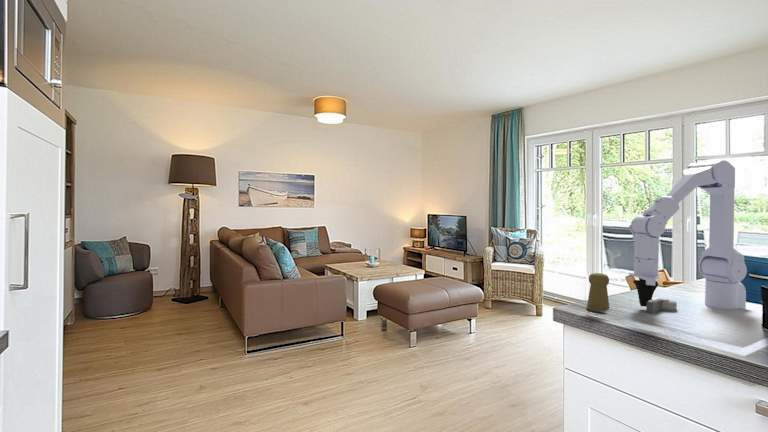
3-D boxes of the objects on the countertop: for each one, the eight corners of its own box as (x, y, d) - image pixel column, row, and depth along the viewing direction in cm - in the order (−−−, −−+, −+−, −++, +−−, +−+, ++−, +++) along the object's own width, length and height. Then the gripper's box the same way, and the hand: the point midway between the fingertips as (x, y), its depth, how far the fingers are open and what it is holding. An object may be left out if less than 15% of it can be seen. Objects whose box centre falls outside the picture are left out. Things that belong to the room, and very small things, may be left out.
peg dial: (656, 304, 116) (656, 293, 116) (680, 309, 111) (680, 297, 111) (637, 310, 110) (637, 298, 110) (662, 315, 105) (662, 302, 105)
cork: (613, 314, 110) (614, 275, 110) (590, 313, 111) (591, 275, 111) (605, 309, 116) (606, 272, 116) (583, 307, 117) (584, 271, 117)
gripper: (625, 254, 118) (624, 298, 119) (633, 260, 105) (632, 310, 106) (653, 255, 115) (652, 301, 116) (665, 262, 102) (664, 313, 103)
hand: (644, 306), depth 111 cm, fingers closed, pressing on peg dial
